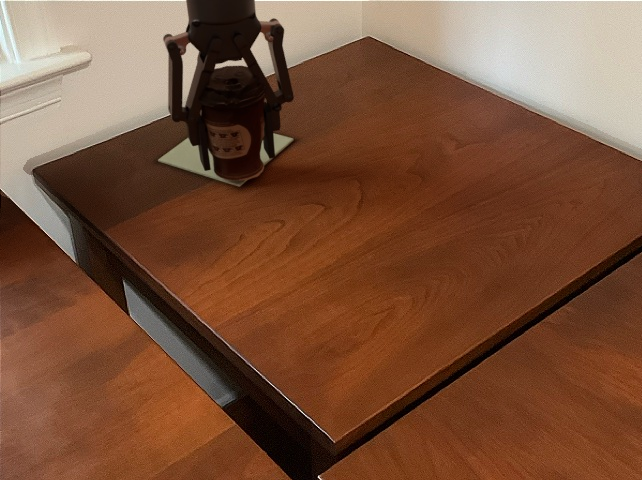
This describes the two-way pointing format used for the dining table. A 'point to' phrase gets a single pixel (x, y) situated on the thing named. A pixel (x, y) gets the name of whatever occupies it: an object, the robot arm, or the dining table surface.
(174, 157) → the mat
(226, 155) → the coffee cup
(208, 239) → the dining table surface
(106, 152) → the dining table surface
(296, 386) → the dining table surface
